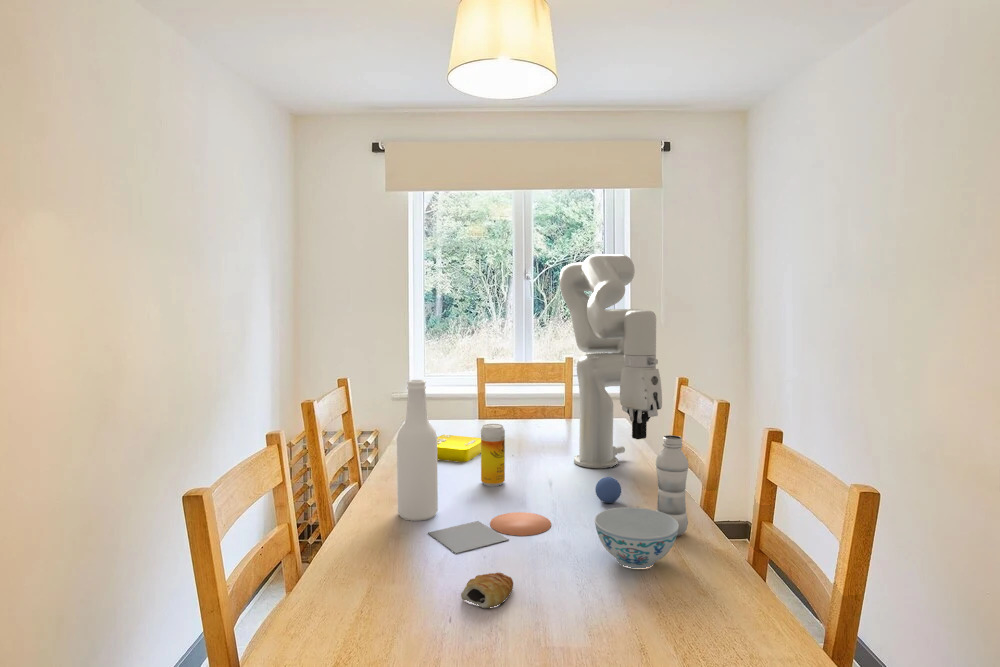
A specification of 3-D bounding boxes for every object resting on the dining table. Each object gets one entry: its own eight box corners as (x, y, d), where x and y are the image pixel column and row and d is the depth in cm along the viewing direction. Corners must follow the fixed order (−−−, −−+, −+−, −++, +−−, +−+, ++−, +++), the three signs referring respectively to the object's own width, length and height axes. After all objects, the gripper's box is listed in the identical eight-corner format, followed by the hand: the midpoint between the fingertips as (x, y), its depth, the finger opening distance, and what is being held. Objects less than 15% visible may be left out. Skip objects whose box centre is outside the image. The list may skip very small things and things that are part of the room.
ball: (609, 496, 153) (609, 472, 152) (626, 503, 148) (627, 478, 147) (589, 501, 150) (590, 476, 149) (607, 508, 145) (607, 482, 144)
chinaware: (619, 539, 127) (619, 501, 126) (691, 559, 117) (692, 519, 117) (578, 564, 115) (579, 523, 115) (655, 589, 106) (656, 544, 105)
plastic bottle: (670, 542, 126) (672, 442, 124) (647, 530, 132) (649, 435, 130) (694, 536, 129) (696, 439, 127) (671, 525, 135) (673, 432, 133)
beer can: (502, 487, 160) (502, 429, 159) (478, 486, 161) (478, 428, 160) (506, 480, 166) (506, 423, 165) (484, 479, 167) (483, 423, 166)
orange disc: (527, 509, 144) (527, 508, 144) (563, 527, 133) (563, 526, 133) (478, 520, 137) (478, 519, 137) (512, 540, 126) (512, 539, 126)
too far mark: (478, 521, 137) (478, 520, 136) (508, 540, 126) (508, 539, 126) (427, 533, 130) (427, 532, 130) (456, 554, 120) (456, 553, 120)
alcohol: (428, 523, 135) (426, 384, 133) (390, 519, 138) (389, 382, 136) (443, 510, 144) (442, 378, 142) (408, 506, 146) (406, 377, 144)
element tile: (466, 464, 183) (465, 448, 182) (420, 459, 188) (419, 443, 188) (486, 451, 197) (486, 436, 196) (442, 447, 202) (442, 432, 202)
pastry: (490, 580, 110) (490, 559, 109) (523, 591, 106) (523, 568, 106) (457, 603, 102) (457, 580, 102) (493, 615, 98) (493, 591, 98)
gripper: (674, 363, 147) (674, 442, 148) (628, 359, 160) (628, 431, 161) (651, 365, 143) (651, 446, 144) (606, 360, 156) (606, 434, 157)
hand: (639, 438), depth 152 cm, fingers closed
